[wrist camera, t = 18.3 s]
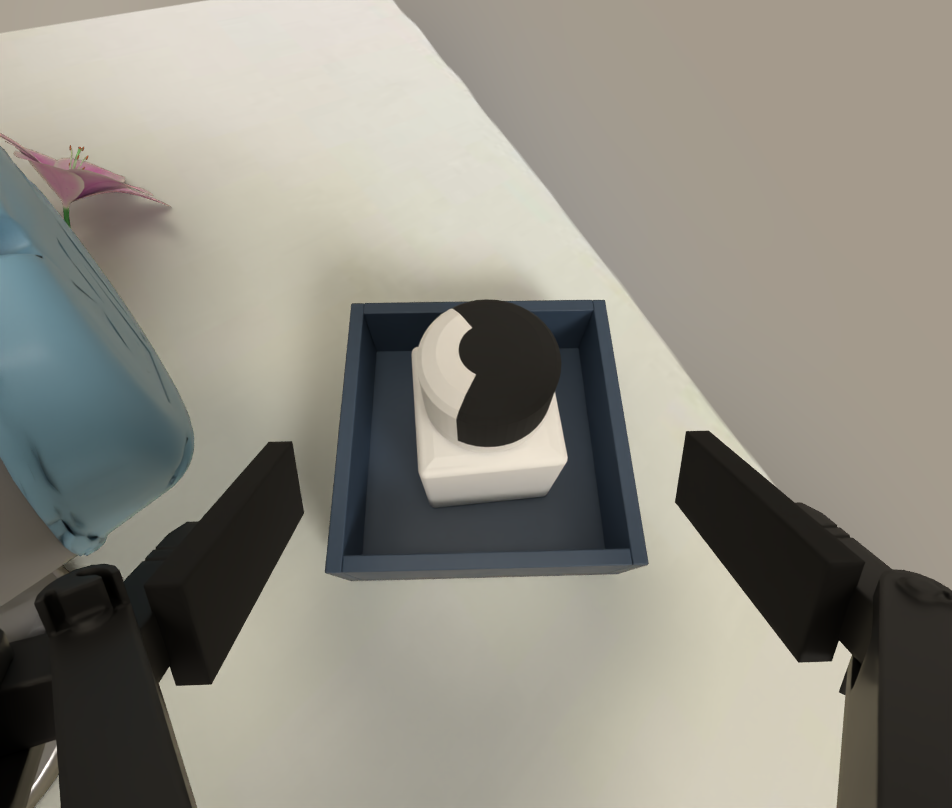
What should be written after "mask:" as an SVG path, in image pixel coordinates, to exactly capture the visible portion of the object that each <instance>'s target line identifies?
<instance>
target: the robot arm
mask: <svg viewBox="0 0 952 808" xmlns="http://www.w3.org/2000/svg"><path fill="white" fill-rule="evenodd" d="M193 451H194V433H193V428H192V425H191V421H190V417H189V415H188V412H187V410H186V407H185V405H184V403H183V401H182V399H181V396H180V394H179V392H178V390H177V388H176V387H175V385H174V383H173V381H172V379H171V378H170V376H169V374H168V372H167V371H166V369H165V367H164V365H163V364H162V362H161V360H160V359H159V357H158V355H157V354H156V352H155V350H154V348H153V347H152V345H151V344H150V342H149V340H148V339H147V337H146V336H145V334H144V333H143V331H142V330H141V328H140V326H139V325H138V323H137V322H136V320H135V319H134V317H133V316H132V314H131V313H130V311H129V310H128V308H127V307H126V305H125V304H124V302H123V301H122V299H121V298H120V296H119V295H118V293H117V292H116V290H115V289H114V288H113V286H112V285H111V283H110V282H109V280H108V279H107V277H106V276H105V275H104V273H103V272H102V270H101V269H100V268H99V266H98V265H97V263H96V262H95V261H94V259H93V258H92V257H91V255H90V254H89V252H88V251H87V250H86V248H85V247H84V246H83V244H82V243H81V242H80V240H79V239H78V238H77V236H76V235H75V234H74V232H73V231H72V230H71V228H70V227H69V226H68V225H67V223H66V222H65V221H64V219H63V218H62V217H61V216H60V214H59V213H58V212H57V210H56V209H55V208H54V207H53V205H52V204H51V203H50V202H49V201H48V199H47V198H46V197H45V196H44V195H43V193H42V192H41V191H40V190H39V189H38V188H37V186H36V185H35V184H33V183H32V182H31V181H30V180H28V179H27V177H26V176H25V175H24V174H23V172H22V171H21V170H20V169H19V168H18V167H17V166H16V165H15V163H14V162H13V161H12V159H11V158H10V157H9V155H8V154H7V152H6V151H5V150H4V149H3V148H2V147H1V146H0V808H33V807H34V806H35V805H36V804H37V802H38V801H39V800H40V799H41V798H42V796H43V795H44V794H45V793H46V791H47V790H48V789H49V787H50V786H51V784H52V783H53V781H54V780H55V779H56V777H57V776H58V774H59V787H60V801H61V808H197V805H196V802H195V799H194V796H193V792H192V789H191V786H190V783H189V779H188V776H187V773H186V770H185V766H184V763H183V760H182V757H181V753H180V750H179V747H178V744H177V740H176V737H175V734H174V731H173V727H172V724H171V721H170V718H169V714H168V711H167V708H166V705H165V702H164V698H163V695H162V692H161V689H160V686H159V682H160V680H161V679H162V677H163V675H164V674H165V672H166V671H167V669H168V668H169V666H170V669H171V672H172V675H173V678H174V681H175V684H176V686H182V685H209V684H212V682H213V681H214V679H215V677H216V675H217V673H218V671H219V669H220V668H221V666H222V664H223V662H224V660H225V658H226V657H227V655H228V653H229V651H230V649H231V647H232V645H233V644H234V642H235V640H236V638H237V636H238V634H239V632H240V631H241V629H242V627H243V625H244V623H245V621H246V619H247V618H248V616H249V614H250V612H251V610H252V608H253V606H254V605H255V603H256V601H257V599H258V597H259V595H260V594H261V592H262V590H263V588H264V586H265V584H266V582H267V581H268V579H269V577H270V575H271V573H272V571H273V569H274V568H275V566H276V564H277V562H278V560H279V558H280V556H281V555H282V553H283V551H284V549H285V547H286V545H287V543H288V542H289V540H290V538H291V536H292V534H293V532H294V531H295V529H296V527H297V525H298V523H299V521H300V519H301V518H302V516H303V514H304V510H303V504H302V498H301V492H300V486H299V480H298V474H297V468H296V462H295V456H294V450H293V444H292V441H289V442H268V443H267V445H266V446H265V447H264V448H263V449H262V450H261V451H260V452H259V454H258V455H257V456H256V457H255V458H254V459H253V460H252V462H251V463H250V464H249V465H248V466H247V467H246V468H245V470H244V471H243V472H242V473H241V474H240V475H239V476H238V478H237V479H236V480H235V481H234V482H233V483H232V484H231V486H230V487H229V488H228V489H227V490H226V491H225V492H224V494H223V495H222V496H221V497H220V498H219V499H218V500H217V502H216V503H215V504H214V505H213V506H212V507H211V508H210V510H209V511H208V512H207V513H206V514H205V515H204V516H203V518H202V519H201V520H200V521H199V522H186V523H185V524H183V525H182V526H180V527H178V528H177V529H175V530H174V531H172V532H171V533H169V534H168V535H167V536H166V537H165V538H164V539H163V540H162V541H161V542H160V543H159V544H158V545H157V547H156V550H153V551H152V552H151V553H150V554H149V555H148V556H147V557H146V558H145V561H142V563H141V564H140V565H139V566H138V567H137V568H136V569H135V570H134V571H133V572H132V573H131V574H130V575H129V576H128V577H127V578H126V580H125V581H124V582H123V579H122V576H121V573H120V571H119V570H118V569H117V567H116V566H113V565H108V564H99V565H90V566H87V567H83V568H80V569H76V570H74V571H72V572H69V571H68V570H67V569H65V568H64V567H63V566H62V565H63V564H65V563H66V562H68V561H69V560H71V559H72V558H74V557H75V556H77V555H79V556H82V555H86V556H88V555H89V554H91V553H93V552H94V551H96V550H98V549H99V548H100V547H101V546H102V545H103V544H104V543H105V541H106V538H107V535H108V534H109V533H110V532H112V531H113V530H114V529H116V528H117V527H118V526H120V525H121V524H123V523H124V522H125V521H127V520H128V519H129V518H131V517H132V516H134V515H135V514H136V513H138V512H139V511H140V510H142V509H143V508H145V507H146V506H147V505H149V504H150V503H151V502H153V501H154V500H156V499H157V498H158V497H160V496H161V495H162V494H164V493H165V492H167V491H168V490H169V489H170V488H172V487H173V486H174V485H175V484H176V483H177V482H178V481H179V480H180V478H181V477H182V476H183V475H184V473H185V472H186V470H187V469H188V467H189V465H190V462H191V459H192V456H193ZM675 503H676V504H677V505H678V506H679V508H680V509H681V510H682V512H683V513H684V514H685V516H686V517H687V518H688V519H689V521H690V522H691V523H692V525H693V526H694V527H695V529H696V530H697V531H698V532H699V534H700V535H701V536H702V538H703V539H704V540H705V542H706V543H707V544H708V545H709V547H710V548H711V549H712V551H713V552H714V553H715V555H716V556H717V557H718V558H719V560H720V561H721V562H722V564H723V565H724V566H725V568H726V569H727V570H728V571H729V573H730V574H731V575H732V577H733V578H734V579H735V581H736V582H737V583H738V584H739V586H740V587H741V588H742V590H743V591H744V592H745V594H746V595H747V596H748V597H749V599H750V600H751V601H752V603H753V604H754V605H755V607H756V608H757V609H758V610H759V612H760V613H761V614H762V616H763V617H764V618H765V620H766V621H767V622H768V623H769V625H770V626H771V627H772V629H773V630H774V631H775V633H776V634H777V635H778V636H779V638H780V639H781V640H782V642H783V643H784V644H785V646H786V647H787V648H788V649H789V651H790V652H791V653H792V655H793V656H794V657H795V659H796V660H797V661H798V662H825V661H832V659H833V656H834V653H835V650H836V647H837V644H838V641H840V642H841V643H842V644H843V645H844V646H845V647H846V648H847V649H848V650H849V652H850V653H851V654H852V657H851V659H850V662H849V665H848V668H847V671H846V673H845V676H844V679H843V682H842V685H841V687H840V690H839V693H842V694H844V695H845V694H846V695H845V708H844V721H843V733H842V746H841V759H840V771H839V784H838V796H837V808H952V591H951V590H950V589H949V588H948V587H946V586H944V585H942V584H941V583H939V582H937V581H935V580H933V579H931V578H928V577H926V576H923V575H921V574H918V573H914V572H910V571H905V570H892V569H891V568H890V567H889V566H887V565H886V564H885V563H884V562H882V561H881V560H880V559H879V558H877V557H876V556H875V555H873V554H872V553H871V552H870V551H869V550H867V549H866V548H865V547H864V546H862V545H861V544H860V543H859V542H857V541H856V540H855V539H854V538H850V536H849V534H847V533H846V532H845V531H844V530H842V529H841V528H838V527H837V525H836V524H835V523H834V522H833V521H831V520H830V519H829V518H827V517H826V516H825V515H823V513H821V512H819V511H817V510H815V509H813V508H811V507H809V506H807V505H805V504H803V503H794V502H793V501H792V500H791V499H790V498H788V497H787V496H786V495H785V494H784V493H782V492H781V491H780V490H779V489H778V488H776V487H775V486H774V485H773V484H772V483H770V482H769V481H768V480H767V479H766V478H764V477H763V476H762V475H761V474H760V473H759V472H757V471H756V470H755V469H754V468H753V467H751V466H750V465H749V464H748V463H747V462H745V461H744V460H743V459H742V458H741V457H739V456H738V455H737V454H736V453H735V452H733V451H732V450H731V449H730V448H729V447H727V446H726V445H725V444H724V443H723V442H721V441H720V440H719V439H718V438H717V437H715V436H714V435H713V434H712V433H711V432H710V431H686V435H685V442H684V448H683V455H682V461H681V467H680V474H679V480H678V487H677V493H676V499H675Z"/></svg>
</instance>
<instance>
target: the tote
mask: <svg viewBox="0 0 952 808" xmlns="http://www.w3.org/2000/svg"><path fill="white" fill-rule="evenodd" d="M505 302H509V303H513V304H516V305H518V306H521V307H523V308H525V309H527V310H528V311H530V312H532V313H533V314H535V315H536V316H537V317H539V318H540V319H541V320H542V321H543V322H544V323H545V324H546V325H547V327H548V328H549V329H550V330H551V332H552V334H553V335H554V337H555V339H556V341H557V344H558V346H559V350H560V354H561V374H560V378H559V382H558V385H557V387H556V390H555V395H556V400H557V405H558V410H559V415H560V420H561V426H562V431H563V436H564V441H565V446H566V451H567V457H568V458H567V462H566V464H565V465H564V467H563V469H562V470H561V472H560V474H559V475H558V477H557V478H556V480H555V482H554V483H553V485H552V487H551V488H550V490H549V492H548V493H547V494H546V496H543V497H535V498H525V499H515V500H506V501H496V502H487V503H477V504H467V505H458V506H448V507H439V508H434V507H432V506H431V505H430V503H429V500H428V498H427V495H426V492H425V489H424V486H423V484H422V481H421V478H420V475H419V472H418V457H417V440H416V423H415V406H414V389H413V372H412V355H411V354H412V351H413V349H414V348H416V347H419V344H420V341H421V339H422V337H423V335H424V333H425V332H426V330H427V329H428V327H429V326H430V325H431V324H432V322H433V321H434V320H435V319H436V318H438V317H439V316H440V315H441V314H443V313H444V312H446V311H447V310H449V309H451V308H453V307H455V306H457V305H460V304H463V303H466V302H410V303H365V304H364V303H352V304H351V313H350V323H349V333H348V344H347V354H346V364H345V374H344V384H343V394H342V404H341V414H340V424H339V435H338V445H337V455H336V465H335V475H334V485H333V495H332V505H331V516H330V526H329V536H328V546H327V556H326V566H325V573H327V574H330V575H333V576H337V577H340V578H343V579H346V580H349V581H371V580H409V579H447V578H485V577H523V576H560V575H598V574H619V573H622V572H626V571H629V570H632V569H635V568H639V567H642V566H645V565H648V557H647V551H646V545H645V539H644V533H643V527H642V521H641V515H640V509H639V503H638V497H637V491H636V485H635V479H634V473H633V467H632V461H631V455H630V449H629V443H628V437H627V431H626V425H625V418H624V412H623V406H622V400H621V394H620V388H619V382H618V376H617V370H616V364H615V358H614V352H613V346H612V340H611V334H610V328H609V322H608V316H607V310H606V304H605V300H593V301H592V300H549V301H505Z"/></svg>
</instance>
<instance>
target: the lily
mask: <svg viewBox="0 0 952 808" xmlns="http://www.w3.org/2000/svg"><path fill="white" fill-rule="evenodd" d="M0 137H2V138H4V139H5V140H7V141H9V142H10V143H9V142H7V143H9V144H11V143H12V144H11V145H14V146H15V147H16V148H17V149H18V150H19V151H20V152H21V153H20V152H18V151H15V152H14V155H15V156H16V157H18V158H22V159H25V160H28V161H29V162H30V164H31V165H32V166H33V167H34V168H35V170H36V171H37V172H38V173H39V174H40V176H41V177H42V178H43V179H44V180H45V181H46V183H47V184H48V185H49V186H50V187H51V188H52V190H53V191H54V192H55V193H56V194H57V195H58V197H59V198H60V199H61V201H62V204H63V212H64V221H65V222H66V223H67V225H68V226H69V227H70V220H69V205H70V203H72V202H73V201H76V200H79V199H82V198H85V197H88V196H92V195H96V194H102V193H108V192H122V193H129V194H133V195H138V196H141V197H144V198H147V199H150V200H153V201H156V202H159V203H162V204H164V205H167V204H165V203H163V202H161V201H159V200H157V199H154V198H152V197H150V196H148V195H151V196H153V194H151V193H150V192H149V191H147V190H145V189H143V188H139V187H134V186H130V185H127V184H124V183H123V182H124V181H125V177H123V176H120V175H117V174H114V173H112V172H110V171H107V170H105V169H103V168H100V167H98V166H96V165H93V164H90V163H88V162H85V161H84V160H85V158H86V160H87V158H88V156H87V157H85V158H84V159H83V161H82V160H78V158H79V154H80V152H81V150H82V151H83V150H84V147H83V148H81V147H78V148H79V149H78V152H77V155H76V157H75V159H73V158H72V148H71V145H70V150H71V158H61V159H59V160H55V159H53V158H51V157H49V156H46V155H43V154H41V153H38V152H36V151H33V150H30V149H27V148H24V147H22V146H21V145H20V144H18V143H17V142H15V141H14V140H12V139H10V138H9V137H7V136H5V135H4V134H2V133H0ZM5 142H6V141H5ZM129 188H134V189H136V190H139V191H141V192H143V193H146V194H148V195H145V194H143V193H140V192H138V191H135V190H132V189H129ZM167 206H169V205H167ZM170 207H171V206H170ZM70 228H71V227H70Z"/></svg>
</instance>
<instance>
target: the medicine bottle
mask: <svg viewBox="0 0 952 808" xmlns="http://www.w3.org/2000/svg"><path fill="white" fill-rule="evenodd" d="M411 355H412V372H413V389H414V406H415V423H416V440H417V457H418V472H419V475H420V478H421V481H422V484H423V486H424V489H425V492H426V495H427V498H428V500H429V503H430V505H431V506H432V507H434V508H439V507H448V506H458V505H467V504H477V503H487V502H496V501H506V500H515V499H525V498H535V497H543V496H546V494H547V493H548V492H549V490H550V488H551V487H552V485H553V483H554V482H555V480H556V478H557V477H558V475H559V474H560V472H561V470H562V469H563V467H564V465H565V464H566V462H567V458H568V457H567V451H566V446H565V441H564V436H563V431H562V426H561V420H560V415H559V410H558V405H557V400H556V395H555V390H556V387H557V385H558V382H559V378H560V374H561V354H560V350H559V346H558V344H557V341H556V339H555V337H554V335H553V334H552V332H551V330H550V329H549V328H548V327H547V325H546V324H545V323H544V322H543V321H542V320H541V319H540V318H539V317H537V316H536V315H535V314H533V313H532V312H530V311H528V310H527V309H525V308H523V307H521V306H518V305H516V304H513V303H509V302H505V301H499V300H475V301H470V302H466V303H463V304H460V305H457V306H455V307H453V308H451V309H449V310H447V311H446V312H444V313H443V314H441V315H440V316H439V317H438V318H436V319H435V320H434V321H433V322H432V324H431V325H430V326H429V327H428V329H427V330H426V332H425V333H424V335H423V337H422V339H421V341H420V344H419V347H416V348H414V349H413V351H412V354H411Z"/></svg>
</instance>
